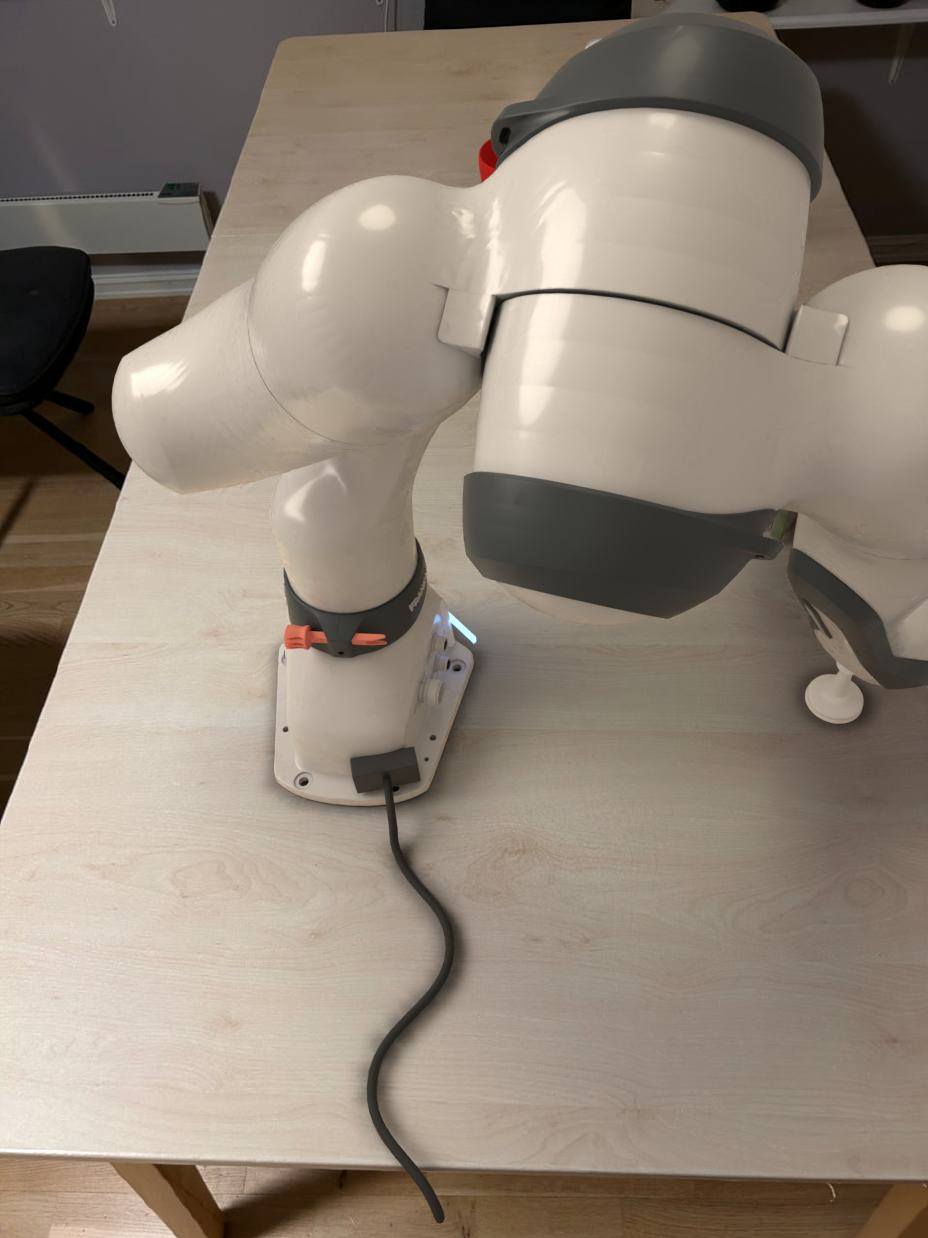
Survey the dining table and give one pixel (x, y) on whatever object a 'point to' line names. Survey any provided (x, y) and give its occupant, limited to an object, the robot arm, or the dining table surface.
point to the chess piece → (834, 697)
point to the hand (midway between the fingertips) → (882, 477)
